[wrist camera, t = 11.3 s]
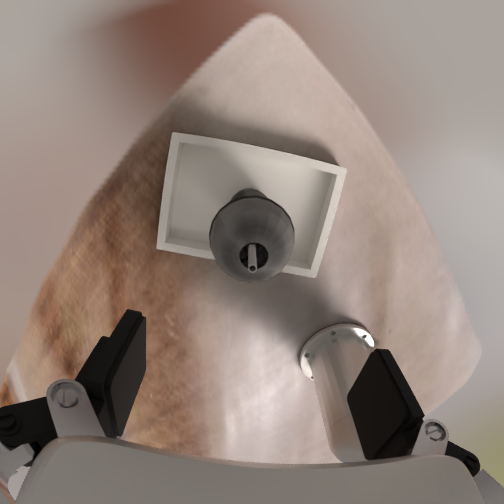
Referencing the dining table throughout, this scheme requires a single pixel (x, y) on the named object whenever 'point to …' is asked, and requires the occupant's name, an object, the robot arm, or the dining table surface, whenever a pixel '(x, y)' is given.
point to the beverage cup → (251, 237)
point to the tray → (238, 178)
